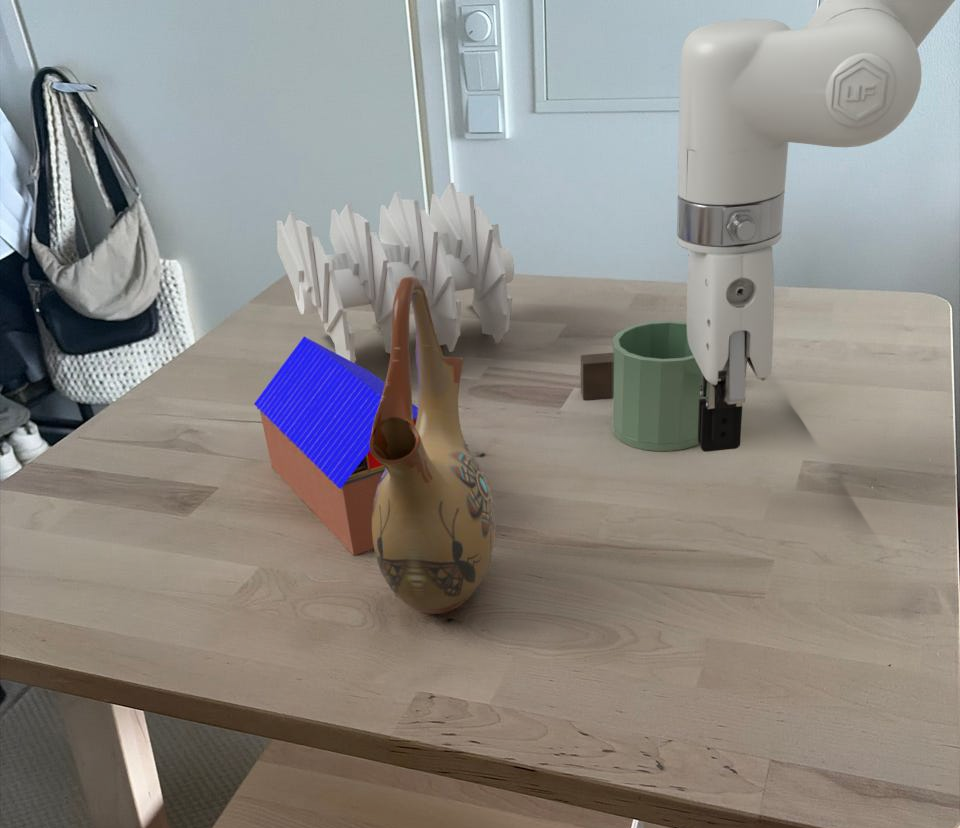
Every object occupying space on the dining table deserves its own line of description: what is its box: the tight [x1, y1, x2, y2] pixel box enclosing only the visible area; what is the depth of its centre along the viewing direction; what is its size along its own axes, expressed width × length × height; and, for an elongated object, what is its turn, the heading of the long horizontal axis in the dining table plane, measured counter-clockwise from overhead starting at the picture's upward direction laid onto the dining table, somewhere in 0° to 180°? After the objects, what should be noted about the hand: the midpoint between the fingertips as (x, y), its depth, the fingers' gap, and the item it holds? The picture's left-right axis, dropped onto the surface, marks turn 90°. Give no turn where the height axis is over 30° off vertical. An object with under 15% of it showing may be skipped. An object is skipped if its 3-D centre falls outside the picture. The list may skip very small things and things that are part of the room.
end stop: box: [580, 352, 612, 401], centre depth 107 cm, size 14×2×4 cm, turn 92°
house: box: [253, 336, 469, 556], centre depth 92 cm, size 12×20×12 cm, turn 30°
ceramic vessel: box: [369, 277, 496, 615], centre depth 74 cm, size 16×9×25 cm, turn 169°
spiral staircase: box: [276, 182, 515, 364], centre depth 115 cm, size 18×18×25 cm
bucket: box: [610, 320, 706, 452], centre depth 99 cm, size 10×10×9 cm
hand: (718, 445), depth 86 cm, fingers closed
